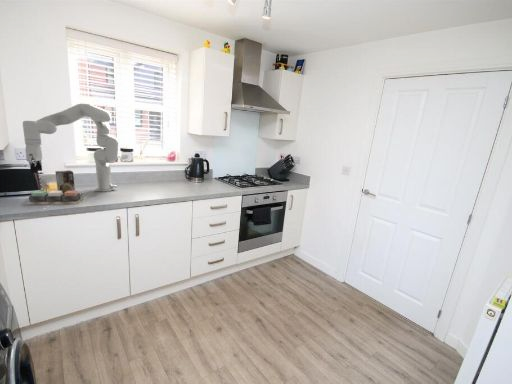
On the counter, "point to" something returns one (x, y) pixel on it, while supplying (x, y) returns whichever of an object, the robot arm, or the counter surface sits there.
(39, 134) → the robot arm
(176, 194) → the counter surface
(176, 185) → the counter surface
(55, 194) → the cream button
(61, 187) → the coffee box
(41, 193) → the sage button
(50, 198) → the button panel
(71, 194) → the terracotta button
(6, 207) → the counter surface
